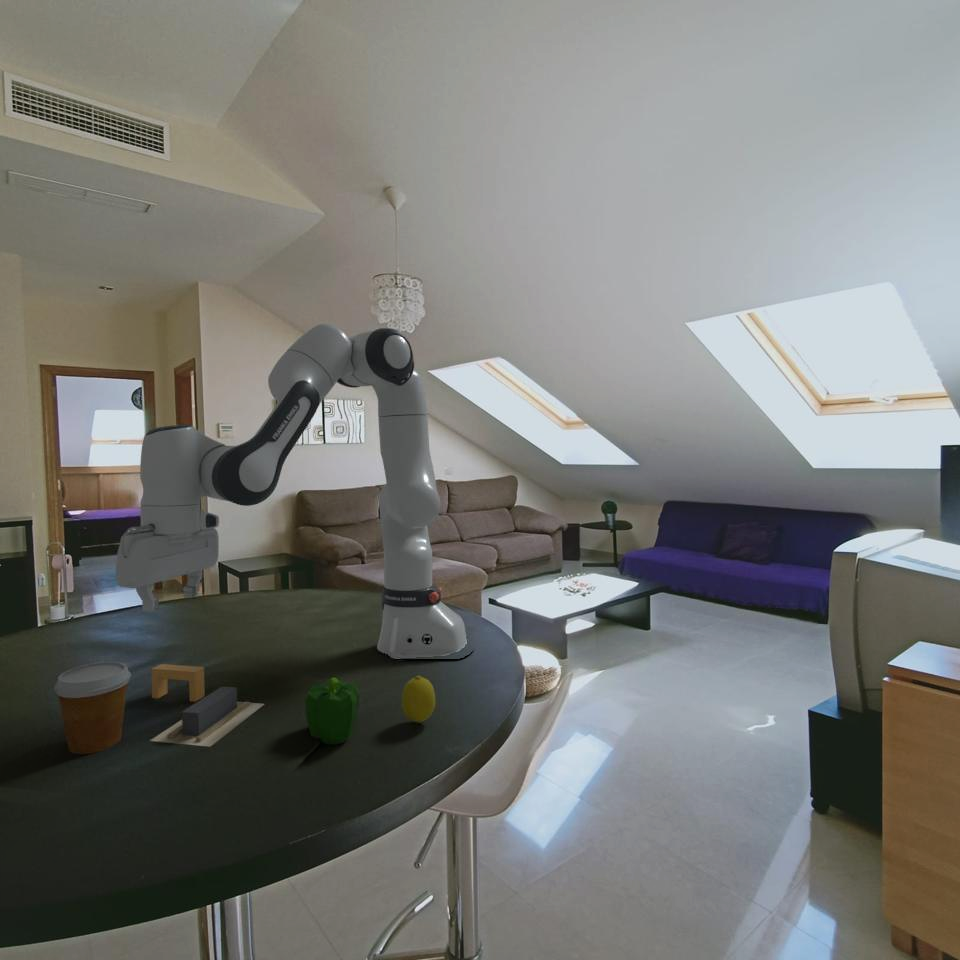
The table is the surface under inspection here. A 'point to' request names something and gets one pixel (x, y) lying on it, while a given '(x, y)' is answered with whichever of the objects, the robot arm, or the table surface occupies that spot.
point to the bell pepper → (332, 711)
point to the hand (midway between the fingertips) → (171, 603)
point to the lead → (208, 711)
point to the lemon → (418, 699)
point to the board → (211, 733)
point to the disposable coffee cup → (93, 705)
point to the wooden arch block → (178, 673)
